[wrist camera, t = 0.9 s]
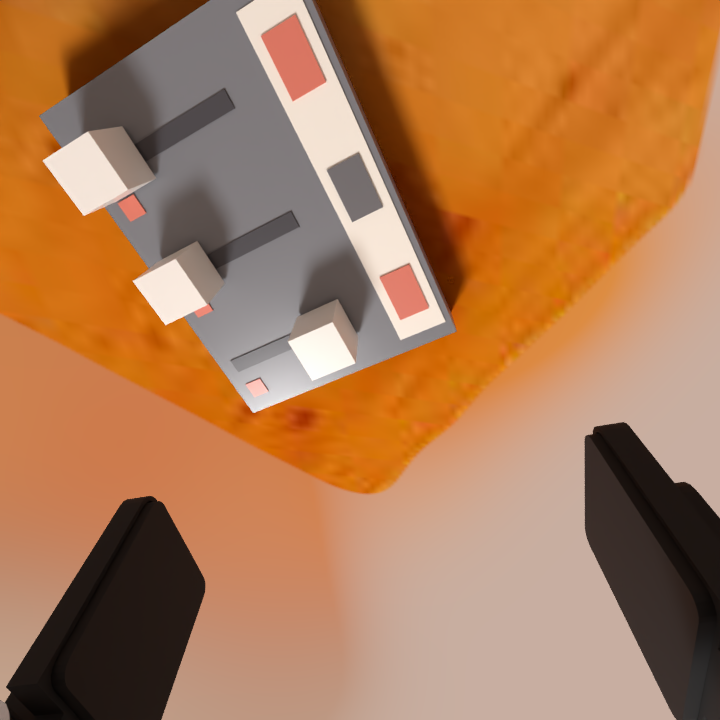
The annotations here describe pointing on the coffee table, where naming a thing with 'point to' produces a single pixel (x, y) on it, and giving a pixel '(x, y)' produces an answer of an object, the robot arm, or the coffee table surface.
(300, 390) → the switch unit
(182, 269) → the middle switch
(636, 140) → the coffee table surface
